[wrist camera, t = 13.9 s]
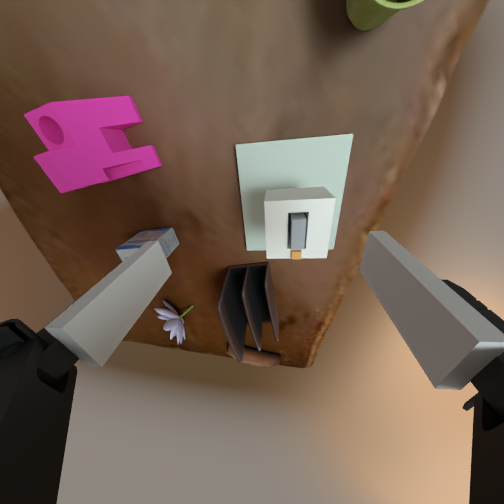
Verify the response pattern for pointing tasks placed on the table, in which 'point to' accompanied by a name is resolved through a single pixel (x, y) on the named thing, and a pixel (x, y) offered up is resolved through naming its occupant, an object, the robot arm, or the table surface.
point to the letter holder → (247, 304)
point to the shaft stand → (290, 180)
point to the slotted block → (317, 221)
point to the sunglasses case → (257, 357)
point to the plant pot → (374, 11)
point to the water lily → (173, 321)
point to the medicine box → (162, 235)
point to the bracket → (89, 141)
